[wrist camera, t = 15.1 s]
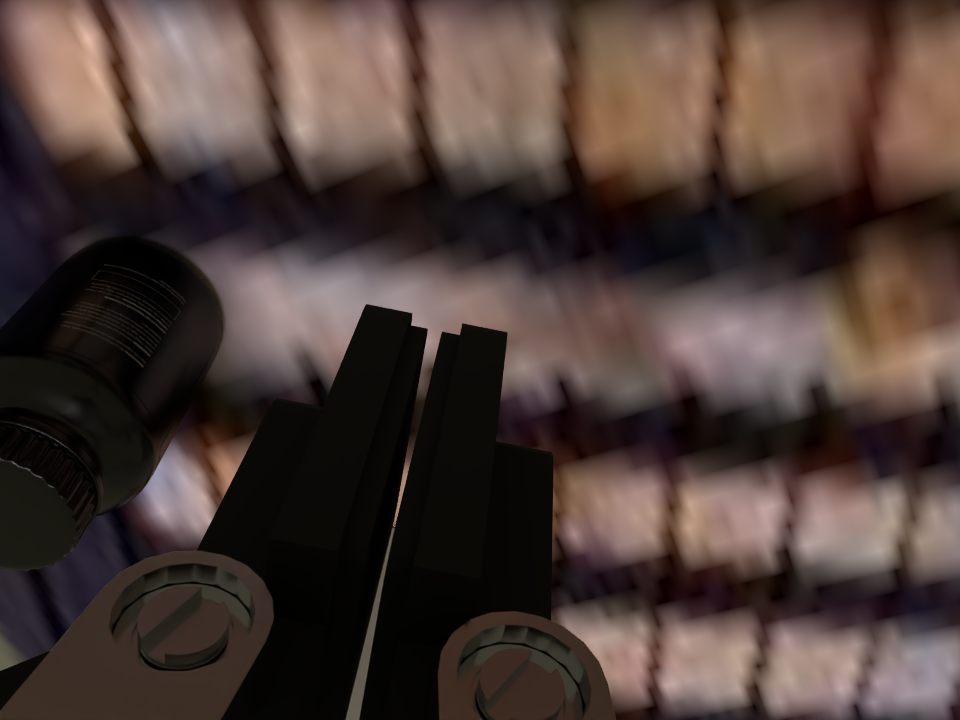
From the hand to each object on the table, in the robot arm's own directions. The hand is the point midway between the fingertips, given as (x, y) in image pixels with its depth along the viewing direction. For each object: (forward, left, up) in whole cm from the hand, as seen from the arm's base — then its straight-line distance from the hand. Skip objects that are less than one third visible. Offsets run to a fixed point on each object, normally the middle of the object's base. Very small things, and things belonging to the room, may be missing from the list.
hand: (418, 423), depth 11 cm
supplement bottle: (+12, +13, -23) cm, 29 cm away
